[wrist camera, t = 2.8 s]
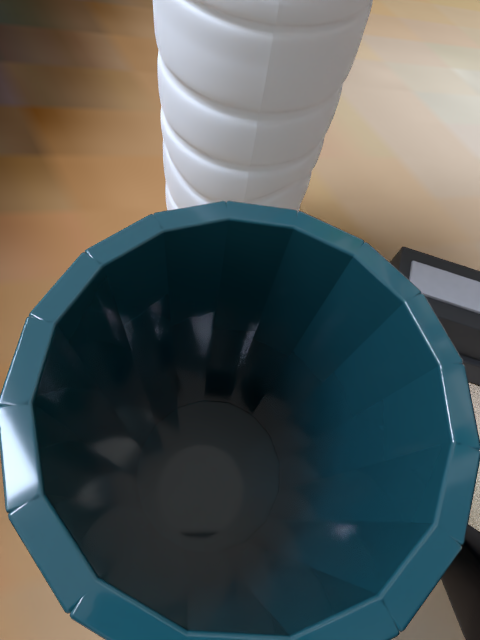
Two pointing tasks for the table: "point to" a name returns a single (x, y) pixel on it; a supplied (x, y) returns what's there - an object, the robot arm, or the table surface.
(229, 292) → the pen pot
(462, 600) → the robot arm
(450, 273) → the stapler
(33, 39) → the table surface
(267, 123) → the water bottle
